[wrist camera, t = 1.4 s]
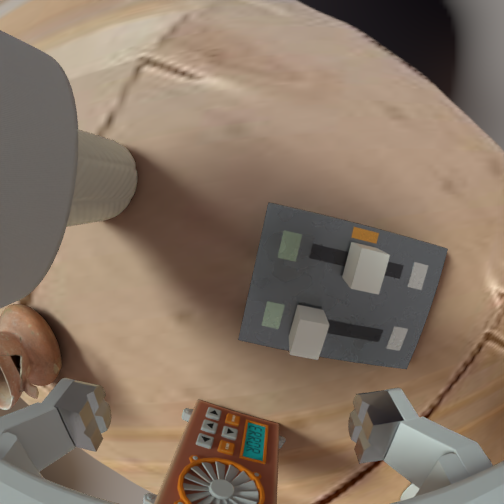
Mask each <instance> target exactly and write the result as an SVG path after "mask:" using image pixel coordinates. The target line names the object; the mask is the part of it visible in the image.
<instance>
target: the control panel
mask: <svg viewBox="0 0 504 504" xmlns="http://www.w3.org/2000/svg"><path fill="white" fill-rule="evenodd" d="M182 419H183V420H185V421H187V422H188V424H187V426H186V429H185V431H184V433H183V436H182V438H181V441H180V443H179V445H178V448H177V450H176V453H175V455H174V457H173V460H172V462H171V464H170V467H169V469H168V472H167V474H166V476H165V479H164V481H163V484H162V486H161V488H160V491H159V493H158V495H155V494H151V493H147V494H145V495H144V499H143V504H277V482H278V453H279V448H281V447H282V446H283V444H284V442H285V441H286V440H285V438H284V437H282V436H279V424H278V423H275V422H271V421H267V420H263V419H260V418H256V417H252V416H249V415H245V414H242V413H239V412H235V411H232V410H229V409H226V408H223V407H220V406H217V405H214V404H211V403H208V402H205V401H202V400H197V402H196V404H195V407H194V409H188V408H185V409H184V410H183V414H182Z"/></svg>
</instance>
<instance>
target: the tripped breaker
mask: <svg viewBox="0 0 504 504" xmlns="http://www.w3.org/2000/svg"><path fill="white" fill-rule="evenodd" d="M389 257H390V255H389V254H387V253H386V252H384V251H382V250H380V249H378V248H375V247H371V246H367V245H363V244H359V243H355V242H351V245H350V249H349V253H348V257H347V261H346V264H345V268H344V272H343V276H342V278H343V279H344V281H345V282H346V283H347V285H348V286H349V287H350V288H351V289H355V290H359V291H364V292H369V293H373V294H378V295H379V292H380V289H381V285H382V282H383V279H384V275H385V272H386V268H387V264H388V261H389Z"/></svg>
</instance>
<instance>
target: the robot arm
mask: <svg viewBox="0 0 504 504" xmlns="http://www.w3.org/2000/svg"><path fill="white" fill-rule="evenodd" d="M105 396H106V394H105V391H104V388H103V387H102V386H100V385H96V384H91V383H86V382H82V381H78V380H72V379H68V378H63V379H61V380H60V381H59V382H58V384H57V385H56V386H55V387H54V388H53V390H52V391H51V392H50V393H49V394H48V396H47V397H46V398H45V399H44V401H43V402H42V403H39V402H38V403H35V404H33V405H30V406H28V407H25V408H23V409H20V410H17V411H15V412H12V413H10V414H7V415H5V416H2V417H0V504H119V503H114V502H111V501H107V500H104V499H100V498H96V497H93V496H90V495H87V494H84V493H81V492H78V491H75V490H72V489H69V488H67V487H64V486H61V485H59V484H56V483H54V482H51V481H48V480H46V479H44V478H43V477H42V475H41V474H40V472H39V471H41V470H42V469H44V468H45V467H47V466H48V465H50V464H51V463H53V462H55V461H56V460H58V459H59V458H61V457H62V456H64V455H65V454H67V453H68V452H70V451H71V450H73V449H74V448H75V447H79V448H83V449H87V450H91V451H95V452H96V451H97V449H98V448H99V446H100V444H101V442H102V440H103V437H102V435H101V433H103V432H105V431H107V430H108V428H109V426H110V422H111V410H110V406H109V404H108V403H107V402H106V401H105V400H104V398H105ZM353 405H354V408H355V409H354V410H353V411H352V412H351V413H350V417H349V434H350V437H351V440H353V441H354V442H356V446H355V449H354V450H355V452H356V455H357V458H358V461H359V464H360V463H367V462H373V461H379V460H384V461H385V462H386V463H387V464H388V465H390V466H391V467H392V468H393V469H395V470H396V471H397V472H398V473H400V474H401V475H402V476H404V477H405V478H406V479H407V480H409V481H410V482H411V483H412V484H411V485H410V486H409V487H408V488H407V489H406V490H405V491H404V492H403V494H402V496H401V499H400V501H399V502H395V503H391V504H504V461H502V462H500V463H498V464H496V465H494V466H493V465H492V463H491V461H490V459H488V457H487V456H486V454H485V453H484V452H483V450H482V449H481V447H480V446H479V444H478V443H477V442H475V441H473V440H471V439H469V438H466V437H464V436H462V435H460V434H458V433H456V432H454V431H451V430H449V429H447V428H445V427H443V426H441V425H439V424H437V423H435V422H433V421H431V420H429V419H427V418H425V417H419V416H418V415H417V413H416V411H415V410H414V408H413V407H412V405H411V403H410V402H409V400H408V399H407V397H406V396H405V394H404V392H403V391H402V389H400V388H394V389H388V390H383V391H376V392H369V393H361V394H356V396H355V397H354V401H353Z"/></svg>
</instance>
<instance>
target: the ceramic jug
mask: <svg viewBox="0 0 504 504" xmlns="http://www.w3.org/2000/svg"><path fill="white" fill-rule="evenodd" d="M61 367H62V363H61V353H60V349H59V345H58V342H57V340H56V338H55V335H54V333H53V332H52V330H51V328H50V326H49V325H48V324H47V322H46V321H45V320H44V319H43V317H42V316H41V315H40V314H38V313H37V312H36V311H35V310H33V309H32V308H30V307H28V306H25V305H22V304H13V305H10V306H8V307H7V308H5V310H4V311H3V312H2V314H1V316H0V408H1V409H3V410H8V409H10V408H11V407H13V406H14V404H15V403H16V402H17V401H18V399H19V397H20V396H21V394H22V392H23V391H25V392H26V393H27V394H28V395H29V396H30V397H33V398H36V399H37V398H38V394H39V392H38V389H37V387H36V386H34V385H38V386H44V385H48V384H50V383H52V382H53V381H54V380H55V379H56V378H57V376H58V374H59V371H60V369H61ZM32 384H34V385H32Z"/></svg>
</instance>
